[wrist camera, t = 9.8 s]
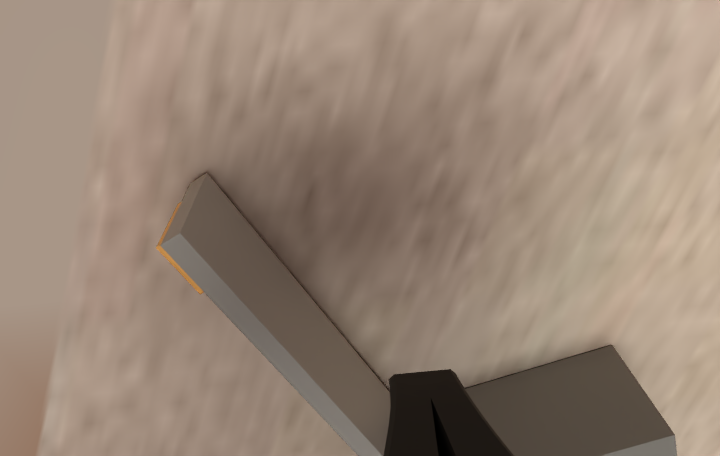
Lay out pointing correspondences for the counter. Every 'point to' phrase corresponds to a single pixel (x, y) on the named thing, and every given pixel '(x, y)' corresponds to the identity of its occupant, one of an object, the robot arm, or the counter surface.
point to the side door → (275, 314)
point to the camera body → (575, 410)
